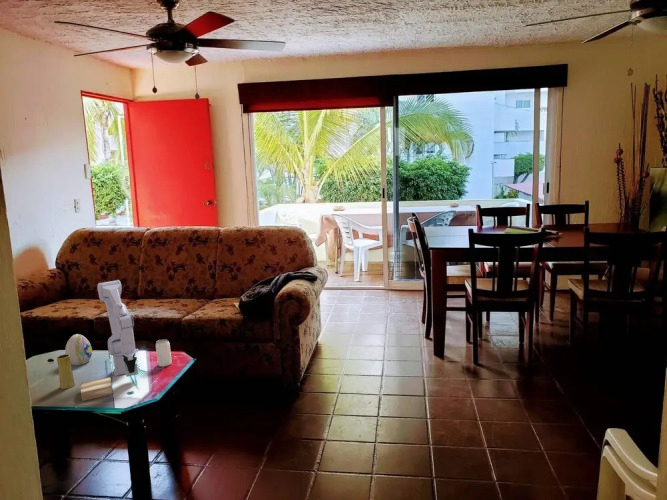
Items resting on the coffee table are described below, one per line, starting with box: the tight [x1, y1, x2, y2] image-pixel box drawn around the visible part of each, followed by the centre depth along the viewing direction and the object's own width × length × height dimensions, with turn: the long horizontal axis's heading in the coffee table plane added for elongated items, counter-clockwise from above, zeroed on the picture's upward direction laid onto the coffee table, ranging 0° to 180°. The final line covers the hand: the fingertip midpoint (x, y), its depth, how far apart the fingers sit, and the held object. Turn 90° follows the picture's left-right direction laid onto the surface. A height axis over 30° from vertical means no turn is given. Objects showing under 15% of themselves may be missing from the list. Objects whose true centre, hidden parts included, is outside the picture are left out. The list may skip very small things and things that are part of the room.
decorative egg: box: [64, 333, 93, 366], centre depth 267 cm, size 12×12×15 cm
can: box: [155, 338, 173, 368], centre depth 256 cm, size 6×6×12 cm
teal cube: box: [124, 361, 139, 378], centre depth 237 cm, size 5×5×5 cm
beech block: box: [80, 376, 114, 402], centre depth 228 cm, size 12×12×4 cm
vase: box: [56, 354, 76, 390], centre depth 236 cm, size 6×6×14 cm
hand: (131, 370), depth 237 cm, fingers closed on teal cube, 5 cm apart
